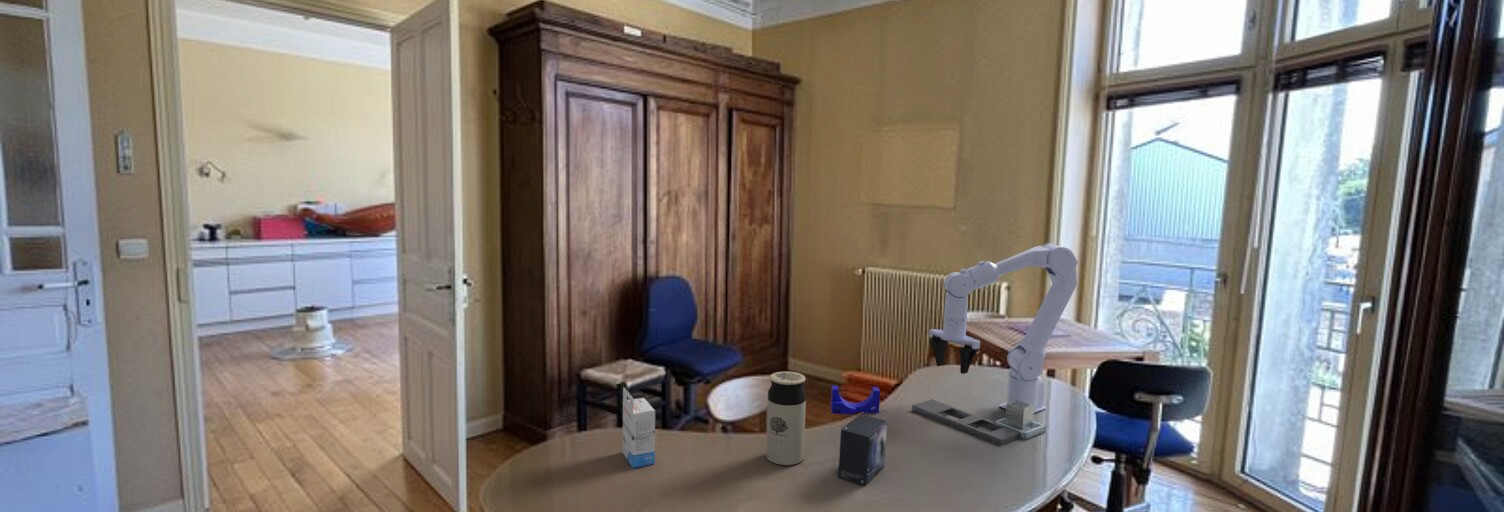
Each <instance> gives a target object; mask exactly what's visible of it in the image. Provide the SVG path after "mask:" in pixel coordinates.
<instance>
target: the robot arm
mask: <svg viewBox="0 0 1504 512" xmlns="http://www.w3.org/2000/svg"><path fill="white" fill-rule="evenodd" d="M1078 262H1079V261H1078V259H1077V257H1076V255H1075V253H1074V252H1073V251H1072V250H1071V249H1070V248H1068V247H1066V246H1061V245H1057V244H1055V243H1051V242H1048V243H1045V244H1043V245H1037V246H1034V247H1032V248H1030V249H1027V250H1025V251H1022V252H1020V253H1017V254H1015V255H1013V256H1010V257H1008V258H1005V259H1003V260H1001V261H998V262H996V263H993V262H991V261H989V260H988V261H984V260H981V261H978V264H976V265H974V266H971V267H969V268H967V269H966V268H961V269H960V272H958V271H954V272H950V273H949V274H948V275H946V277H945V278H944V281H943V287H944V289H945V299H944V310H943V327H942V330H940V329H936V328H933V329H929V334H928V335H929V336H928V337H929V338H930V339H929V341H928V343H929V345H930V347H931V349H932V351H933V354H934V357H935V363H936V367H942V366H944V364H945V358H946V350H947V346H948V344H949V343H948V342H950V343H954V344H958V345H961V346H960V347H958V353H959V357H960V366H959V367H960V368H959V369H960V370H959V371H960V374H961V375H962V374H963V375H964V374H967V373H969V369H970V366H971V364H972V361H973V359H974V357H975V356H976V354H977V353H978V352H979V349H980V348H981V340H978V339H975V338H974V337H971V336H968V335H966V334H967V322H968V321H967V320H968V306H969V301H968V298H969V295H970V294H971V292H972V291H975V290H978V289H981V288H985V287H987V286H989V285H992V284H995V283H997V282H998V281H999V279H1000V277H1001V276H1002V275H1006V274H1009V273H1012V272H1015V271H1018V270H1023V269H1025V268H1028V267H1032V266H1033V267H1037V268H1043V269H1044V270H1045V271H1046V272H1047V274H1048V277H1049V278H1050V281H1051V285H1050V288H1049V289H1048V290H1047V291H1048V292H1047V293H1046V295H1045V296H1044V299H1043V301H1042V302H1041V305H1040V307H1039V308H1038V311H1037V313H1036V315H1035V316H1034V319H1033V320H1032V322H1031V324H1030V327H1029V328H1028V330H1027V333H1026V334H1025V336H1024V337H1023V338H1021V339H1019V340H1018V341H1017V344H1016V345H1015V346H1014V347H1013V348H1012V349H1010V350H1009V352H1008V353H1007V357H1006V361H1007V364H1008V365H1009V367H1010V370H1009V371H1008V379H1007V394H1006V402H1004V403H1001V404H999V405H998V407H999V408H1003V409H1005V410H1006V407H1007V403H1009V402H1012V401H1015V400H1019V401H1023V402H1026V403H1029V404H1032V405H1034V414H1036V413H1038V412H1040V411H1044V410H1046V409H1047V407H1046V406H1044V398H1045V397H1044V395H1045V383H1044V382H1045V381H1044V379H1043V378H1042V376H1041V374H1042V372H1043V369H1044V366H1043V364H1044V360H1045V358H1046V346H1047V343H1048V341H1049V340H1050V338H1051V336H1052V334H1053V332H1054V331H1055V328H1056V326H1057V324H1058V323H1059V320H1060V318H1061V316H1062V315H1063V314H1064V311H1065V308H1066V307H1067V305H1068V303H1069V302H1070V299H1071V298H1072V296H1073V293H1074V292H1075V289H1076V288H1077V285H1078V281H1077V280H1078V279H1077V266H1078V264H1079V263H1078Z"/></svg>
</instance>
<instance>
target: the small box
mask: <svg viewBox="0 0 1504 512" xmlns="http://www.w3.org/2000/svg"><path fill="white" fill-rule="evenodd" d="M887 431H888V420H887V419H881V418H878V417H874V416H871V415H867V414H863V413H859V415H857V416H856V417H855V418H853V419H852V420H850V422H848V423H847V424H845V425H844V426H842V427H841V429H840V435H839V437H840V439H839V440H840V441H839V442H840V443H839V456H838V472H837V478H838V479H842V480H845V481H848V482H852V483H856V484H858V485H862V486H866V485H868V484H869V483H870V482H871V481H872V479H874V478H875V477H876V475H878V474H879V473H880V472H881V471H882V470H883V469H884V468H885V464H886V448H887V447H886V446H887V445H886V444H887Z"/></svg>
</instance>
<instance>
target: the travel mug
mask: <svg viewBox="0 0 1504 512" xmlns="http://www.w3.org/2000/svg"><path fill="white" fill-rule="evenodd" d="M769 380H770V383H771V385H770V387H769V388H768V391H767V420H766V421H767V423H766V426H767V427H766V452H765V453H766V454H765V456H766V458H767V460H768V461H769V462H771V463H774V464H777V465H781V466H793V465H797V464H799V463H801V462H802V461H803V460H804V455H805V432H806V430H805V429H806V408H807V407H806V403H807V401H806V399H807V391H806V389H805V388H804V384H805V381H806V376H805V375H803V374H802V373H799V372H795V371H777V372H773V373H772V374H770V376H769Z"/></svg>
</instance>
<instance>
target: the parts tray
mask: <svg viewBox="0 0 1504 512" xmlns="http://www.w3.org/2000/svg"><path fill="white" fill-rule="evenodd" d="M1005 419H1006V416H1005V417H1003V418H1000V419H997V420H994V421H993V422H994V423H997V424H1000V425H1002V426H1005V427H1008V428H1011V429H1013V430H1016V431H1019V432H1021V438H1020V439H1022V440H1025V441H1026V440H1028V439H1031V438H1033V437H1036V436H1039V435H1041V434H1044V433H1046V430H1047V425H1045V424H1042V423H1040V422H1037V421H1035V420H1033V427H1032V429H1031V430H1029V431H1026V432H1024V431H1021V430H1019V429H1016V428H1013V427H1010V426H1008V425H1005Z"/></svg>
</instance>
